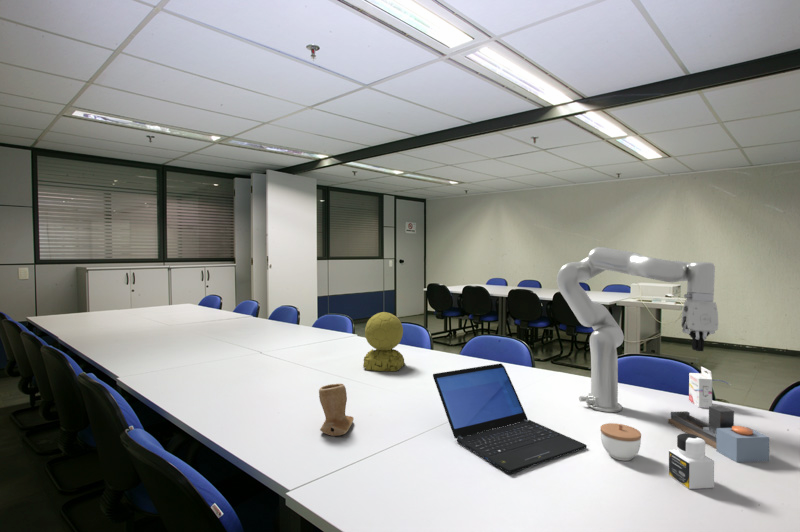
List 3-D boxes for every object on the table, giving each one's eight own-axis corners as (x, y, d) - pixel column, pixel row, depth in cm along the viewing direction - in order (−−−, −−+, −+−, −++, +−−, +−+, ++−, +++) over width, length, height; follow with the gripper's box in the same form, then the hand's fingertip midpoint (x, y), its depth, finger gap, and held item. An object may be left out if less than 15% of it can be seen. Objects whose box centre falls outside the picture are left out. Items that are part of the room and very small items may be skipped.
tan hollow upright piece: (325, 419, 152) (324, 378, 152) (356, 421, 150) (356, 380, 150) (311, 437, 137) (310, 392, 137) (346, 438, 135) (345, 393, 135)
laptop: (509, 478, 111) (509, 406, 111) (431, 429, 144) (431, 373, 144) (588, 450, 128) (588, 387, 127) (502, 411, 160) (502, 362, 160)
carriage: (718, 443, 127) (718, 412, 127) (702, 435, 133) (703, 405, 133) (739, 443, 127) (740, 411, 127) (723, 435, 133) (723, 405, 133)
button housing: (736, 462, 119) (736, 438, 119) (716, 451, 126) (716, 428, 126) (769, 461, 119) (769, 437, 119) (747, 450, 126) (747, 427, 126)
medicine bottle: (668, 475, 112) (668, 431, 112) (692, 473, 112) (693, 430, 112) (688, 489, 105) (689, 442, 105) (714, 488, 105) (715, 441, 105)
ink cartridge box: (688, 400, 171) (688, 365, 171) (701, 401, 170) (701, 365, 170) (698, 407, 163) (698, 370, 162) (712, 408, 162) (713, 371, 161)
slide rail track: (719, 450, 126) (719, 438, 126) (668, 422, 148) (668, 411, 148) (744, 450, 126) (744, 437, 126) (689, 422, 148) (689, 411, 148)
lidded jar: (592, 451, 126) (592, 421, 126) (617, 445, 130) (617, 415, 130) (623, 467, 116) (623, 434, 116) (649, 460, 120) (649, 428, 120)
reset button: (741, 445, 120) (741, 432, 120) (727, 438, 125) (727, 425, 125) (757, 444, 120) (757, 432, 120) (742, 437, 125) (742, 425, 125)
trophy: (359, 370, 219) (358, 314, 218) (369, 361, 240) (368, 309, 240) (400, 372, 215) (400, 315, 215) (407, 362, 237) (407, 310, 236)
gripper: (686, 298, 139) (684, 352, 139) (730, 299, 139) (727, 353, 140) (671, 296, 146) (669, 347, 147) (712, 296, 147) (710, 348, 147)
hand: (697, 350), depth 143 cm, fingers closed
